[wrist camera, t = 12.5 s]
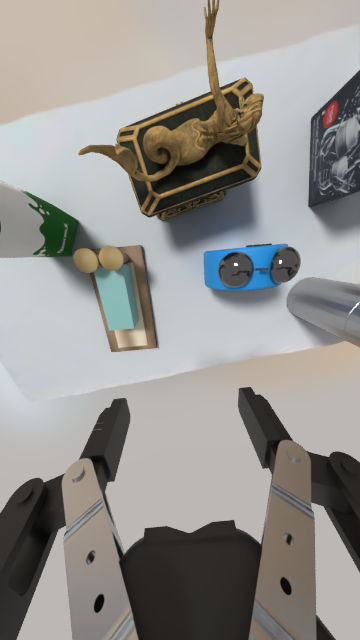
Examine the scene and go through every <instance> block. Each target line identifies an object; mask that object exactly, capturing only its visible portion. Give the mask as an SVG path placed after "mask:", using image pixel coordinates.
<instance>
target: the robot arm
mask: <svg viewBox="0 0 360 640" xmlns="http://www.w3.org/2000/svg"><path fill="white" fill-rule="evenodd" d="M287 306H288V309H289V311H290V312H291V313H292V314H294V315H295V316H298V317H300V318H302V319H304V320H306V321H307V322H309V323H311V324H313V325H315V326H318V327H320V328H322V329H324V330H326V331H328V332H330V333H332V334H334V335H336V336H338V337H340V338H342V339H344V340H346V341H348V342H350V343H352V344H354V345H356V346H358V347H360V285H359V284H352V283H346V282H340V281H333V280H328V279H321V278H314V277H312V278H306V279H304V280H302V281H300V282H298V283H297V284H296V285H295V286H294V287H293V288H292V290H291V291H290V293H289V295H288V299H287ZM238 407H239V412H240V415H241V417H242V419H243V422H244V424H245V427H246V429H247V432H248V434H249V436H250V439H251V441H252V444H253V446H254V448H255V451H256V453H257V456H258V458H259V460H260V462H261V465H262V468H263V469H264V468H269V469H270V471H271V473H272V480H271V486H270V492H269V498H268V505H267V511H266V517H265V522H264V528H263V534H262V540H261V544H260V543H259V542H258V541H257V540H255V539H254V538H253V537H252V536H250V535H249V534H247V533H246V532H244V531H242V530H240V529H237V528H236V527H235V522H234V520H230V521H220V522H211V523H210V524H208V525H206V526H204V527H202V528H200V529H198V530H196V531H194V532H192V533H186V532H183V531H180V530H177V529H174V528H171V527H167V526H165V527H154V528H145V532H144V537H143V538H141V539H140V540H138V541H137V542H135V543H134V544H133V545H132V546H131V547H130V548H129V549H128V550H127V552H126V553H124V550H123V547H122V543H121V540H120V538H119V535H118V532H117V529H116V526H115V523H114V519H113V516H112V513H111V509H110V506H109V503H108V499H107V496H106V493H105V489H106V486H107V483H108V482H110V481H114V480H115V477H116V473H117V469H118V465H119V462H120V458H121V454H122V450H123V446H124V443H125V439H126V435H127V431H128V427H129V424H130V412H129V408H128V405H127V400H126V399H125V398H120V399H114V400H113V402H112V404H111V407H110V408H106V409H105V410H104V411H103V412H102V413H101V414H100V416H99V418H98V420H97V423H96V425H95V426H94V429H93V431H92V433H91V435H90V437H89V439H88V442H87V444H86V446H85V448H84V450H83V452H82V454H81V457H80V459H79V460H78V461H76V462H75V463H73V464H72V465H71V466H70V467H69V468H68V470H67V471H66V473H64V474H63V475H61V476H58V477H56V478H54V479H51V480H49V481H47V482H45V483H44V482H43V480H42V479H40V478H35V479H31V480H29V481H27V482H26V483H24V484H23V485H22V486H20V487H19V488H18V489H17V490H16V491H15V492H14V494H13V495H12V496H11V498H10V499H9V501H8V502H7V504H6V505H5V507H4V509H3V510H2V512H1V513H0V640H16V639H17V636H18V634H19V631H20V629H21V626H22V624H23V621H24V618H25V616H26V613H27V611H28V608H29V605H30V603H31V600H32V597H33V595H34V592H35V590H36V587H37V584H38V582H39V579H40V577H41V574H42V571H43V569H44V566H45V563H46V561H47V558H48V556H49V553H50V550H51V548H52V545H53V543H54V540H55V537H56V535H57V532H58V529H60V528H62V527H64V526H66V533H65V535H64V552H65V563H66V574H67V585H68V596H69V605H70V615H71V627H72V638H73V640H336V639H335V638H334V637H333V635H331V633H330V632H329V630H328V629H327V628H326V626H325V625H324V624H323V623H322V621H321V620H320V619H319V617H318V616H317V615H316V583H315V582H316V580H315V522H314V513H313V511H312V509H311V502H312V503H315V504H318V505H321V506H324V508H325V510H326V512H327V514H328V515H329V517H330V519H331V521H332V522H333V525H334V526H335V528H336V530H337V532H338V534H339V535H340V537H341V539H342V541H343V543H344V544H345V546H346V548H347V550H348V552H349V554H350V555H351V557H352V559H353V561H354V563H355V565H356V566H357V568H358V570H359V572H360V462H358V461H357V460H356V459H354V458H353V457H351V456H350V455H348V454H345V453H342V452H333V453H331V454H330V456H329V457H326V456H321V455H318V454H314V453H310V452H308V451H306V450H305V449H304V448H303V447H301V446H300V445H299V444H297V443H296V442H294V441H293V440H292V438H291V437H290V435H289V434H288V432H287V431H286V429H285V428H284V426H283V425H282V423H281V422H280V420H279V418H278V417H277V415H276V414H275V412H274V410H273V409H272V407H271V406H270V404H269V403H268V401H267V400H266V399H265V398H264V397H262V396H261V395H255V393H254V392H253V390H252V388H251V387H247V388H239V399H238Z"/></svg>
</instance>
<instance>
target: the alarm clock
mask: <svg viewBox="0 0 360 640" xmlns="http://www.w3.org/2000/svg"><path fill="white" fill-rule="evenodd" d="M300 265H301V258H300V255H299V253H298V251H297V250H296V249H294V248H292V247H288V245H287V244H277V245H272V244H266V245H265V244H262V245H260V244H259V245H253V246H252V245H249V246H246V248H236V249H226V250H216V251H206V252H205V253H204V275H205V285H206V286H207V287H209V288H212V289H218V290H230V291H245V290H259V289H266V288H272V287H275V286H278V285H280V284H281V283H285V282H288V281H290V280H291V279H292V278H293V277H294V276H295V275H296V274H297V272H298V271H299V268H300Z"/></svg>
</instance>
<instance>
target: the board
mask: <svg viewBox="0 0 360 640" xmlns="http://www.w3.org/2000/svg"><path fill="white" fill-rule="evenodd" d="M73 261H74V264H75V266H76V267H77V268H78V269H79V270H80V271H82V272H85V273H90V274H91V278H92V281H93V285H94V289H95V293H96V296H97V300H98V304H99V307H100V311H101V315H102V318H103V322H104V326H105V330H106V333H107V337H108V341H109V344H110V348H111V352H117V351H128V350H139V349H150V348H156V347H157V343H156V336H155V330H154V323H153V317H152V310H151V304H150V297H149V291H148V284H147V278H146V271H145V264H144V258H143V251H142V246H141V245H138V246H127V247H113V246H106V247H104V248H102V249H94V250H90V249H86V248H81V249H78V250H77V251H75V253H74V255H73ZM123 264H129V267H130V273H131V278H132V284H133V289H134V294H135V300H136V305H137V311H138V316H139V321H138V322H137V324H136V326H135V328H133V329H122V330H111V331H109V328H108V324H107V320H106V317H105V313H104V309H103V305H102V301H101V297H100V294H99V290H98V286H97V282H96V278H95V274H94V271H96V270H97V269H98V267H101V266H103V267H104V268H106V269H107V270H111V271H114V270H118V269H120V268H121V267H122V266H123Z"/></svg>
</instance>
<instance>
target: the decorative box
mask: <svg viewBox="0 0 360 640" xmlns="http://www.w3.org/2000/svg"><path fill="white" fill-rule="evenodd" d="M212 1H213V2H212V3H213V4H212V5H213V6H212V13H211V9H210V0H208V17H207V14H206V8H205V7H204V13H205V19H206V30H205V33H206V43H207V62H208V75H209V83H210V88H211V91H210V92H208V93H206V94H203V95H201V96H198V97H196V98H194V99H191V100H189V101H186V102H184V103H183V102H181V103H180V104H176V106H174V107H172V108H169V109H167V110H165V111H162V112H160V113H157V114H155V115H153V116H150V117H148V118H145V119H143V120H140V121H138V122H136V123H133V124H131V125H128V126H126V127H124V128H121V129H120V130H119V133H118V136H117V143H118V145H117V144H116V145H115V146H112V145H89V146H87V147H85V148H83V149H81V150H80V151H79V153H78V155H83V154H86V153H90V152H95V153H101V154H103V155H106V156H108V157H109V158H111V159H112V160H114V161H116V162H117V163H118V164H119V165H120V166H121V167H122V168H123V169H124V170H125V171H126V172H127V173H128V175H129V178H130V181H131V184H132V187H133V190H134V193H135V196H136V199H137V201H138V204H139V207H140V210H141V212H142V214H144V215H146V216H147V217H153V216H155V215H157V218H159V219H161V220H166V219H169V218H172V217H175V216H177V215H180V214H183V213H186V212H189V211H191V210H194V209H197V208H200V207H202V206H205V205H208V204H211V203H214V202H216V201H219V200H222V199H223V198H224V196H225V194H226V192H227V191H226V190H227V189H230V188H232V187H235V186H238V185H241V184H244V183H246V182H249V181H252V180H254V179H255V178H256V177H257V175H258V173H259V171H260V170H261V159H260V150H259V141H258V131H257V124H258V122H259V121H260V118H261V116H262V105H263V99H264V96H263V94H253V85H252V84H251V83H250V82H249V81H248V80H247V79H246V78H242V79H239V80H237V81H235V82H232V83H230V84H227V85H225V86H223V87H219V81H218V73H217V68H216V63H215V57H214V50H213V42H212V35H213V31H214V26H215V20H216V15H217V11H218V7H219V0H217V5H216V7H215V0H212Z"/></svg>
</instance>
